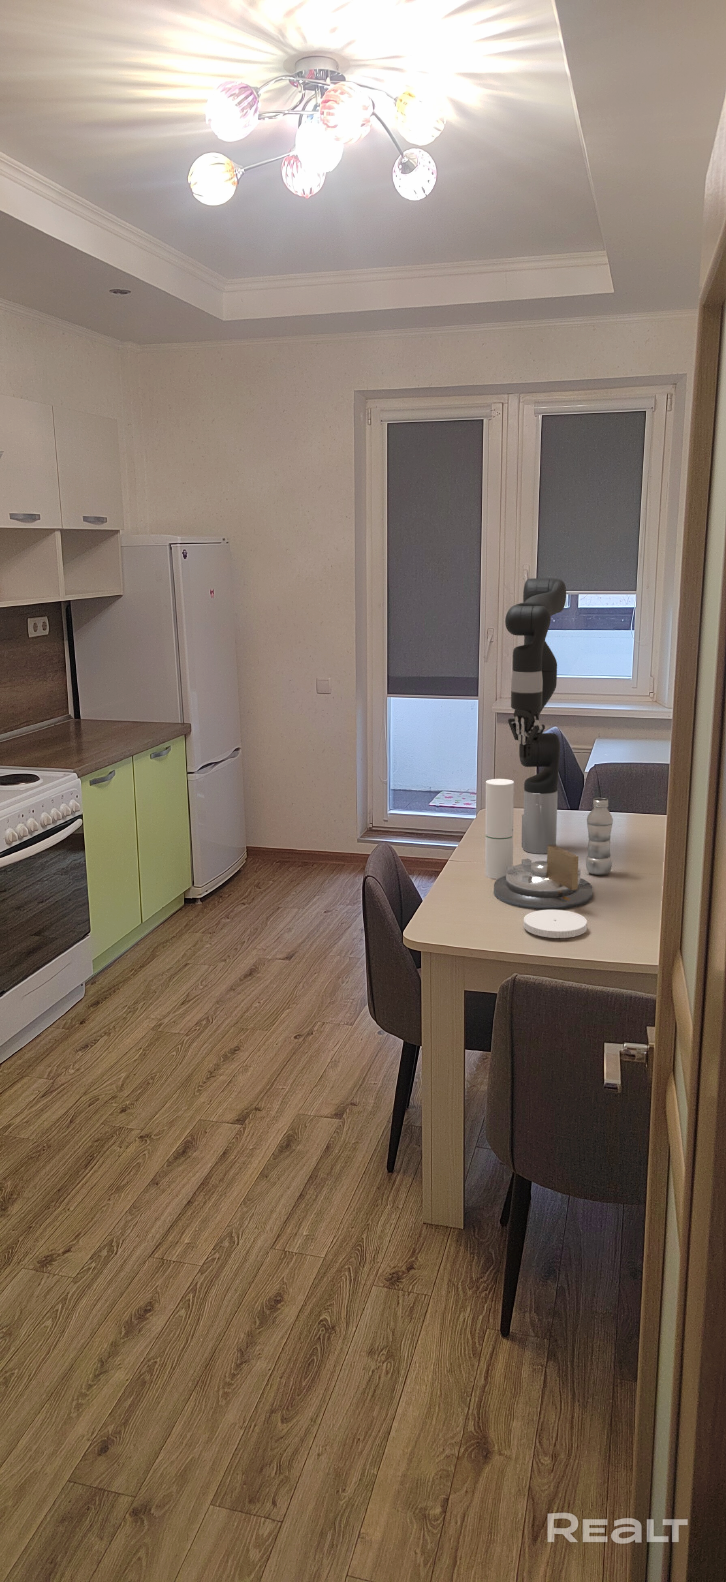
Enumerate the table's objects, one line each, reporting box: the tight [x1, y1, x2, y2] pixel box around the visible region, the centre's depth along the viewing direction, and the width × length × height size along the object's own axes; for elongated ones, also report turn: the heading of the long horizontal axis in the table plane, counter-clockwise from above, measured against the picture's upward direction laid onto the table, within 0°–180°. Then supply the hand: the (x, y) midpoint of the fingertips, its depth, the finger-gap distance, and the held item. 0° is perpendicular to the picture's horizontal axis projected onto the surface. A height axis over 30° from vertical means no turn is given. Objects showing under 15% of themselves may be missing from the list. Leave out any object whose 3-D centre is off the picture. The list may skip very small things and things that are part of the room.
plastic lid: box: [522, 909, 588, 939], centre depth 233 cm, size 14×14×2 cm
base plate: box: [493, 876, 594, 911], centre depth 257 cm, size 24×24×2 cm
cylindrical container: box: [484, 778, 515, 880], centre depth 270 cm, size 7×7×25 cm
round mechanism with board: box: [506, 845, 581, 897], centre depth 253 cm, size 23×18×11 cm
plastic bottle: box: [585, 797, 614, 876], centre depth 269 cm, size 6×7×20 cm
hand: (525, 758), depth 257 cm, fingers closed
